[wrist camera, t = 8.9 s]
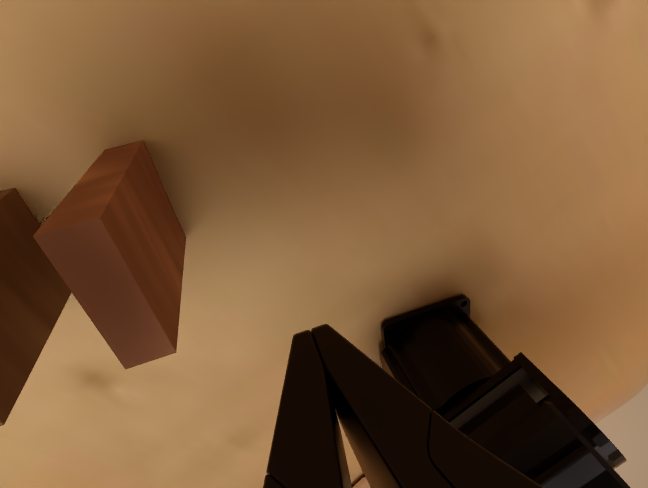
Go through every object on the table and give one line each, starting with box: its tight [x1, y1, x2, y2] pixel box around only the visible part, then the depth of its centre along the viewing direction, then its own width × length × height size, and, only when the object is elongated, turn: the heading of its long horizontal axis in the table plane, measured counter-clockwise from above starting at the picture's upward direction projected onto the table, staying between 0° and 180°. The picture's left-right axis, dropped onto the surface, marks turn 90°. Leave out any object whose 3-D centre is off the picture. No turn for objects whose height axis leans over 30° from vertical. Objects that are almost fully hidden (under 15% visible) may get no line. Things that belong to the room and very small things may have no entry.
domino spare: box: [33, 141, 186, 369], centre depth 14 cm, size 2×5×8 cm, turn 11°
